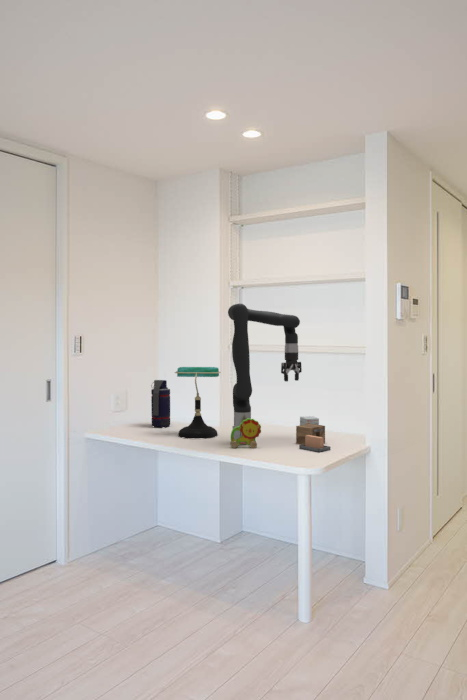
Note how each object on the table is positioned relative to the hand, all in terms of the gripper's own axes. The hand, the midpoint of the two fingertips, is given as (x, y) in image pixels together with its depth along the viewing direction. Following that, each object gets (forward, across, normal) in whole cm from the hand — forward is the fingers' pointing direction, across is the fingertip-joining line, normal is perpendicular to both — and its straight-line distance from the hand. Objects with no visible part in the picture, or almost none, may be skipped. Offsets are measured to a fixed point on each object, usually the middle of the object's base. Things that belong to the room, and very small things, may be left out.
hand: (291, 380), depth 318 cm
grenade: (+33, +26, -89) cm, 99 cm away
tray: (+33, +10, +25) cm, 43 cm away
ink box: (+33, -14, +1) cm, 36 cm away
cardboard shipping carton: (+33, -1, +13) cm, 36 cm away
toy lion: (+33, +32, -3) cm, 46 cm away
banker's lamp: (+33, +28, -48) cm, 65 cm away
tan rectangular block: (+32, +10, +25) cm, 42 cm away
